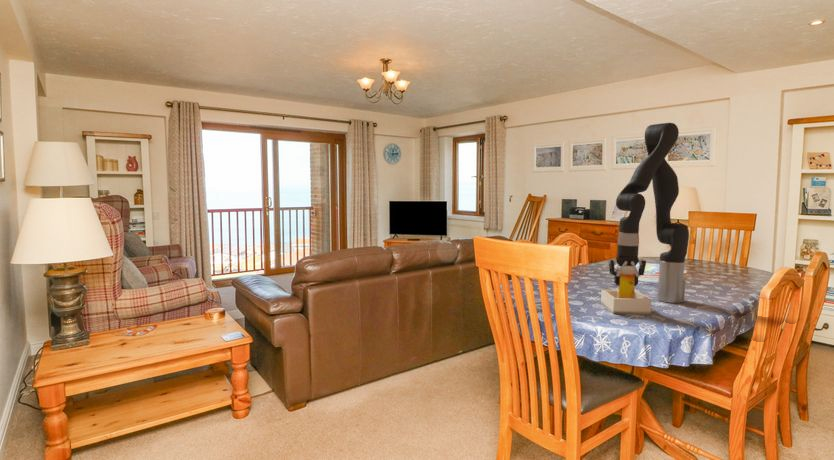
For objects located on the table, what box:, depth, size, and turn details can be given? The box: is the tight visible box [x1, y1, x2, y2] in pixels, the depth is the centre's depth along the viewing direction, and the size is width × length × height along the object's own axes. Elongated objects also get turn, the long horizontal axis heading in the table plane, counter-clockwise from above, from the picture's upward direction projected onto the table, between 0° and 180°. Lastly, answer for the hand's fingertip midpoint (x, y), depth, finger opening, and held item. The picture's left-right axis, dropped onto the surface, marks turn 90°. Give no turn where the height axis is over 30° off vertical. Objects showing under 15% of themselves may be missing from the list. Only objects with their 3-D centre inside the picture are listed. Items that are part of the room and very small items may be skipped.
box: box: [600, 289, 652, 316], centre depth 181 cm, size 14×14×6 cm
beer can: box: [616, 265, 635, 299], centre depth 180 cm, size 6×6×15 cm
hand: (625, 285), depth 181 cm, fingers closed on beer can, 6 cm apart
